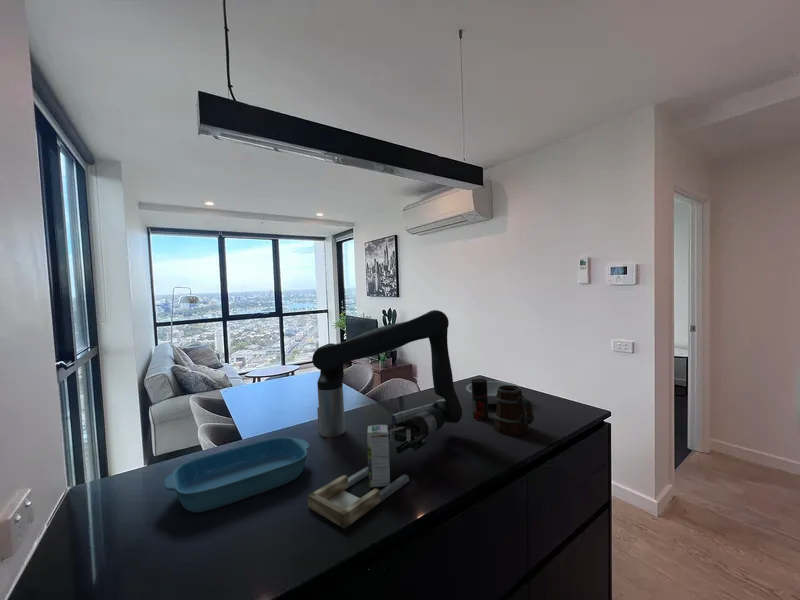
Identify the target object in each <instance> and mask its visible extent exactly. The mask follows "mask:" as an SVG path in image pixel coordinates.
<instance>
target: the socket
mask: <svg viewBox="0 0 800 600" xmlns="http://www.w3.org/2000/svg"><path fill="white" fill-rule="evenodd" d="M348 478H349V477H348V475H345V474H343V475H340V476H339V477H337V478H336V479H334V480H332V481H331V482H329V483H327V484H325V485H323V486H322V487H320V488H319V489H317V490H315V491H313V492H311V493H309V494H308V495H307V499H308V500H307V502H308V503H307V504H308V509H310V510H312V511H313V512H315V513H317V514H318V515H320V516H322V517H324V518H326V519H328V520H329V521H331V522H332V523H333V524H336V525H337V526H339V527H341V528H342V529H346V528H348V527H349V526H350V525H352V524H353V523H354V522H356V521H357V520H358V519H359V518H361V517H362V516H364V515H365V514H366V513H368V512H369V511H370V510H372V509H373V508H374V507H376V506H377V505H379V504H380V503H381V502H380V491H381V490H380V489H378V488H377V487H374V488H373V489H372V490H370V491H369V492H367V493H366V494H365V495H363V496H362V497H358V496H356V495H354V494H352V493H350V492H348V491H346V490H347V489H348V488H349V487H348Z"/></svg>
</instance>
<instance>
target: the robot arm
mask: <svg viewBox="0 0 800 600" xmlns="http://www.w3.org/2000/svg"><path fill="white" fill-rule="evenodd" d="M449 326H450V325H449V318H448V316H447V314H446V313H445V312H443V311H441V310H438V309H436V310H435V309H433V310H430V311H428V312H426V313H423V314H422V315H420V316H417V317H415V318H412V319H410V320H407V321H403V322H397V323H393V324H388V325H384V326H380V327H377V328H374V329H373V328H372V329H371V330H368V331H365V332H363V333H361V334H359V335H357V336H355V337H352V338H350V339H349V340H346V341H343V342H339V343H331V342H330V343H326V344H324V345H322V346H319V347H318V348H317V349H316V350H315V351H314V353H313V354H312V358H311V359H312V364H313V366H314V367H315V368H316V369H317V370H320V371H319V372H320V374H319V377H318V379H317V382H316V383H317V385H316V386H317V400H318V407H317V426H318V428H317V429H318V433H319V434H320V436H321V437H324V438H335V437H338V436H341V435H343V434H344V433H345V432H346V424H345V421H346V420H345V405H344V387H343V381H344V377H345V376H344V369H345V367H344V366H345V365H344V364H347V363H349V362H352V361H353V362H354V361H356V360H361V359H365V358H371V357H375V356H378V355H381V354H385V353H388V352H390V351H393V350H396V349H399V348H401V347H403V346H405V345H407V344H410V343H412V342H415V341H419V340H424V339H428V340H429V346H430V353H431V375H432V383H433V391H434V393H435V395H436V396H438V397H441V398H442V399H445V401H438V402H437V401H434V402H433V403H434V404H433V405H432V406H431V407H430V408H429V410H426V411H425V412H422V413H419V414H417V415H415V416H413V417H411V418H409V419H407V420H405V421H404V423H401V426H400V427H397V428H396V427H395V428H394V424H393V425H392V424H391V425H389V426H388V437H389V443H396V442H398V444H397V445H396V448H395V449H396V453H397V454H399V455H401V454H402V453H404V452H406V450H408V451H410V450H413V451H418V450H419V449H420V448H422V447H423V446H425V445H426V444H427V438H429V437H431V435H432V434H433V433H435V432H436V431H439V429H442V427H443V426H444V424H445V423H452V424H457V423H459V422H460V421H461V420H462V417H463V407H462V405H461V402H460V400H459V397H458V395H457V393H456V389H455V386H454V379H453V372H452V371H453V370H452V365H451V360H450V354H449V346H448V345H449V344H448V333H449V329H448V328H449ZM393 435H394V438H393ZM399 442H400V443H399Z"/></svg>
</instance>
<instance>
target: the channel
mask: <svg viewBox="0 0 800 600" xmlns="http://www.w3.org/2000/svg"><path fill="white" fill-rule="evenodd" d="M367 476H368V477H369V471H368V465H367V466H366V467H363V469H361V470H359V471H357V472H355V473H354V474H352V475H350V476H349V477H348V488H350V487H351V486H353V485H355V484H357V483H358V482H360V481H362V480H363V479H364V478H366V477H367ZM408 482H410V476H409V475H408V474H405V473H404V474H403V475H401V476H400V477H398V478H397V479H395V480H393V481H392V482H390V484H389V485H388V486H384V488H382V489H381V490H380V503H381V502H383V501H384V500H386V499H387V498H388V497H389V496H391V495H392V494H393V493H395V492H396V491H398V490H400V489H401V488H402V487H403V486H404V485H406V484H407V483H408Z"/></svg>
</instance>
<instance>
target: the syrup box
mask: <svg viewBox="0 0 800 600" xmlns="http://www.w3.org/2000/svg"><path fill="white" fill-rule="evenodd" d="M366 436H367V466H368V471H369V475H368V487H369V488H370V489H371V488H379V487H380V488H381V487H387V486H388V485H389V484H391V472H390V470H391V469H390V466H391V465H390V464H391V463H390V446H389V445H390V441H389V436H388V425H387V424H374V425H368V426H367V435H366Z"/></svg>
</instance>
